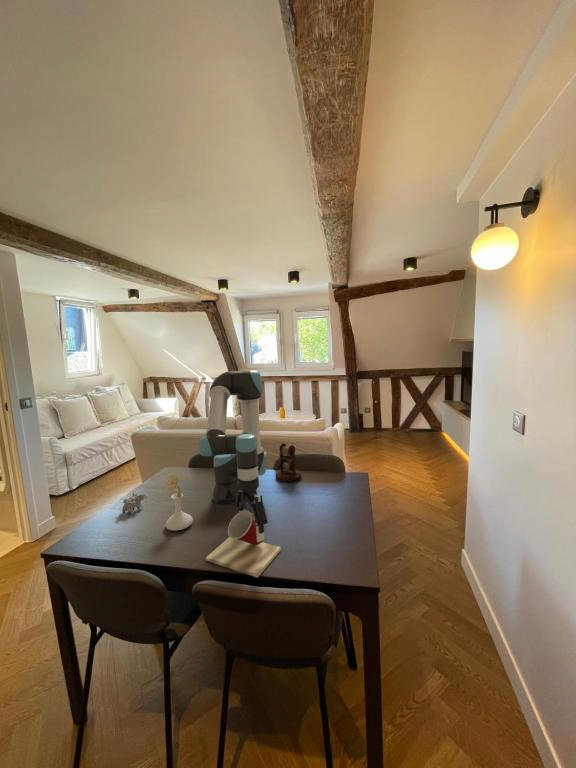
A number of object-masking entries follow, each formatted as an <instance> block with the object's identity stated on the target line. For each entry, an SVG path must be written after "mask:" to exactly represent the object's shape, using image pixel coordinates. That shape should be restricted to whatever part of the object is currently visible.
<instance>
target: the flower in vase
mask: <svg viewBox="0 0 576 768" xmlns="http://www.w3.org/2000/svg"><path fill="white" fill-rule="evenodd" d="M179 478H180V477H179V475H178V473H177V472H175V473H174V472H173V473H171V474H170V476H168V479H167V482H166V491H167V492H168V493H170V492H173V494H172V495H171V496H170V498H171V499H172V500H173V503H174V509H175V510H174V511H175V512H174V513H173V514H172V515H171V516H170V517H169V518H168V519H167V520H166V522H165V528H166V529H167V530H169V531H175V532H176V531H180V530H184V529H187V528H189V527H190V526H191V525H192V523H193V522H194V518H193V516H192V515H190V514H188V513H186V512H185V511H182V505H181V504H182V499H183V496H184V494H183V493H182V492H181V491H182V490H180V488H179V486H178V485H179Z"/></svg>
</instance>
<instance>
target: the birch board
mask: <svg viewBox="0 0 576 768" xmlns="http://www.w3.org/2000/svg"><path fill="white" fill-rule="evenodd" d="M281 551H282V550H281V546H278V545H274V544H270V543H266V542H263V541H262V542H261V543H260V544H259V545H253V544H250V543H247V542H244V541H241V540H238V539H233V538H230V536H228V537H227V538H226V539H225V540H224V541H223V542H222V543H221V544H219V545H218V546H217V547H216V548H214V550H213V551H211V552H210V553H209V554H208V555H207V556H206V557H205V561H206V562H210V563H212V564H216V565H217V566H218V565H219V566H222V567H224V568H228V569H231V570H234V571H236V572H240V573H243V574H245V575H249V576H252V577H254V578H259V577H260V576H261V575H262V573H263V572H264V571H265V569H267V567H268V566H269V565H270V564H271V562H272V561H273V560H274V559H275V558H276V557H277V556H278V554H279V553H280V552H281Z"/></svg>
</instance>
